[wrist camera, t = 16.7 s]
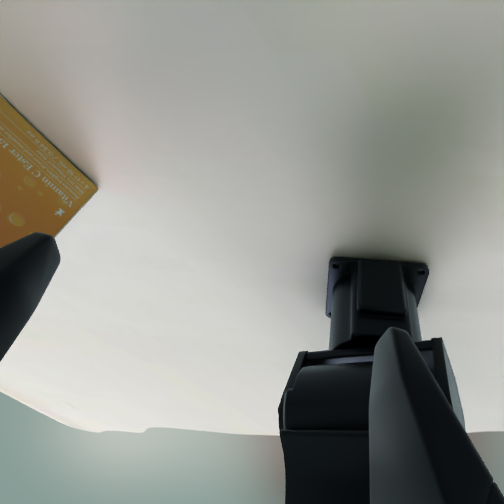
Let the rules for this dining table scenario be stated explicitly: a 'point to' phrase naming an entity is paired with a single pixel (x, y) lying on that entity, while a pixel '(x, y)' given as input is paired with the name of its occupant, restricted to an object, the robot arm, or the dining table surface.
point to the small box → (35, 181)
